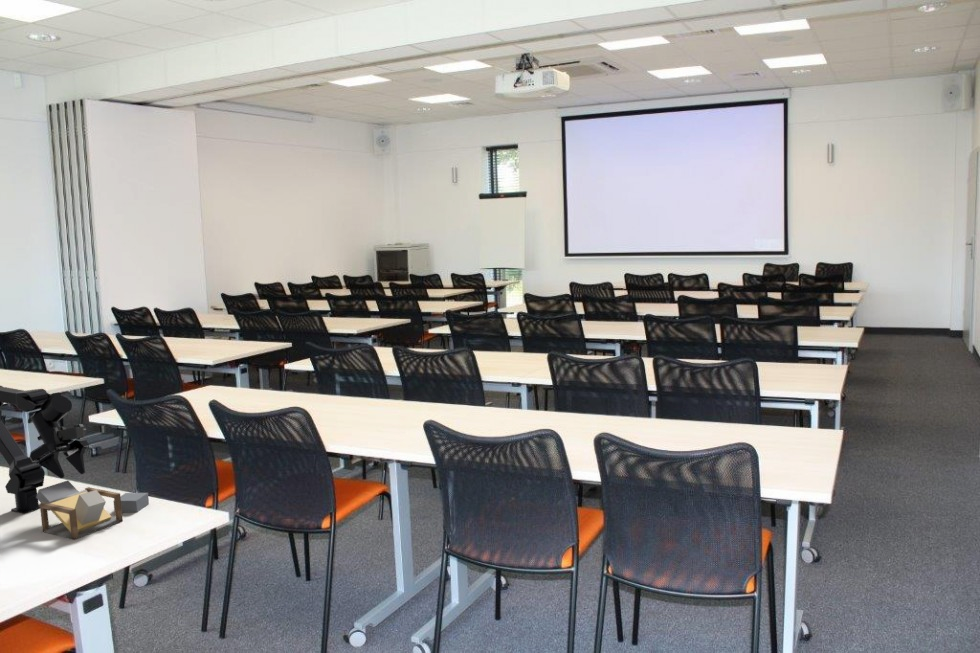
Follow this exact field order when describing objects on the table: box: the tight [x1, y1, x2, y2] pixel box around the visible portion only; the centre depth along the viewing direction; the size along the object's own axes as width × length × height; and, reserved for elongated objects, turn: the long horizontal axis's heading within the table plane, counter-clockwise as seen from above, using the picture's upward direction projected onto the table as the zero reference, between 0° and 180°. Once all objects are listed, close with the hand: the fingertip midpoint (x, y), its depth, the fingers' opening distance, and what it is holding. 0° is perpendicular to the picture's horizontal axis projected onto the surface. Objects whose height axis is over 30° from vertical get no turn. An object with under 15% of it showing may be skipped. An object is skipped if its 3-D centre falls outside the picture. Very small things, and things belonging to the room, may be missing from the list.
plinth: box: [113, 492, 150, 513], centre depth 246 cm, size 7×7×4 cm
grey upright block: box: [75, 490, 107, 525], centre depth 230 cm, size 5×5×7 cm
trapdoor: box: [36, 480, 113, 532], centre depth 234 cm, size 18×12×4 cm
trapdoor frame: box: [39, 486, 124, 540], centre depth 232 cm, size 14×15×8 cm
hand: (73, 475), depth 238 cm, fingers open, 9 cm apart
